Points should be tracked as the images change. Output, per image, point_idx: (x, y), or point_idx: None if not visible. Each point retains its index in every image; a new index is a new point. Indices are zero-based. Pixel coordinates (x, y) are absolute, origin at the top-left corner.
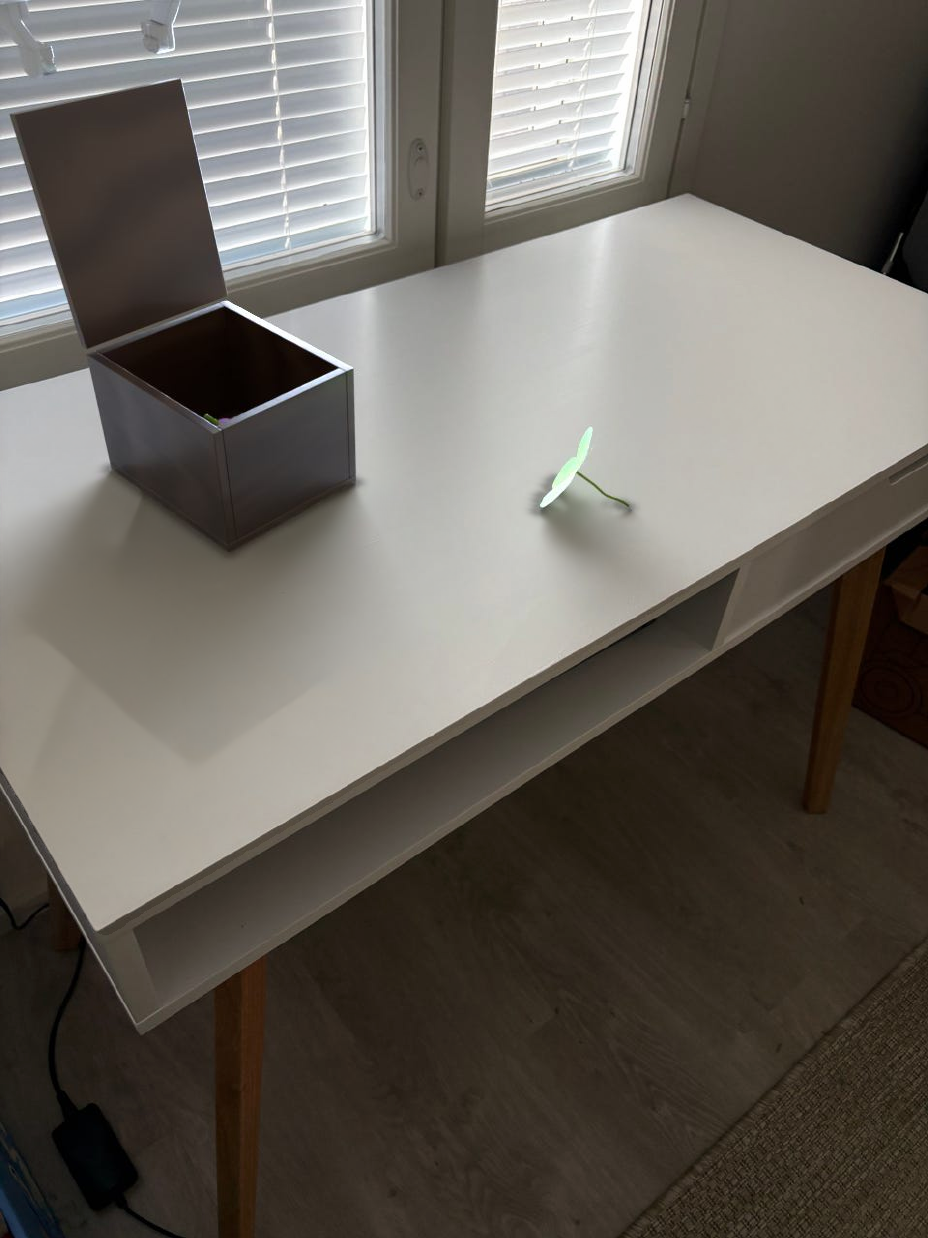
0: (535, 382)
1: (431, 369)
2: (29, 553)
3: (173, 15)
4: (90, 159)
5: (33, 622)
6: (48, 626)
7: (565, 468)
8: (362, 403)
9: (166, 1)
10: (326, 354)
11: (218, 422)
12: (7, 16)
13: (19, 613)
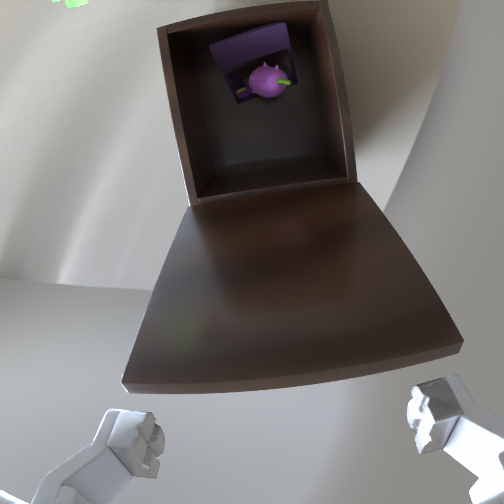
0: (23, 115)
1: (64, 163)
2: (413, 117)
3: (80, 454)
4: (337, 296)
5: (432, 62)
6: (427, 53)
7: (73, 2)
8: (125, 143)
9: (83, 484)
10: (162, 59)
11: (279, 79)
12: None
13: (435, 74)
